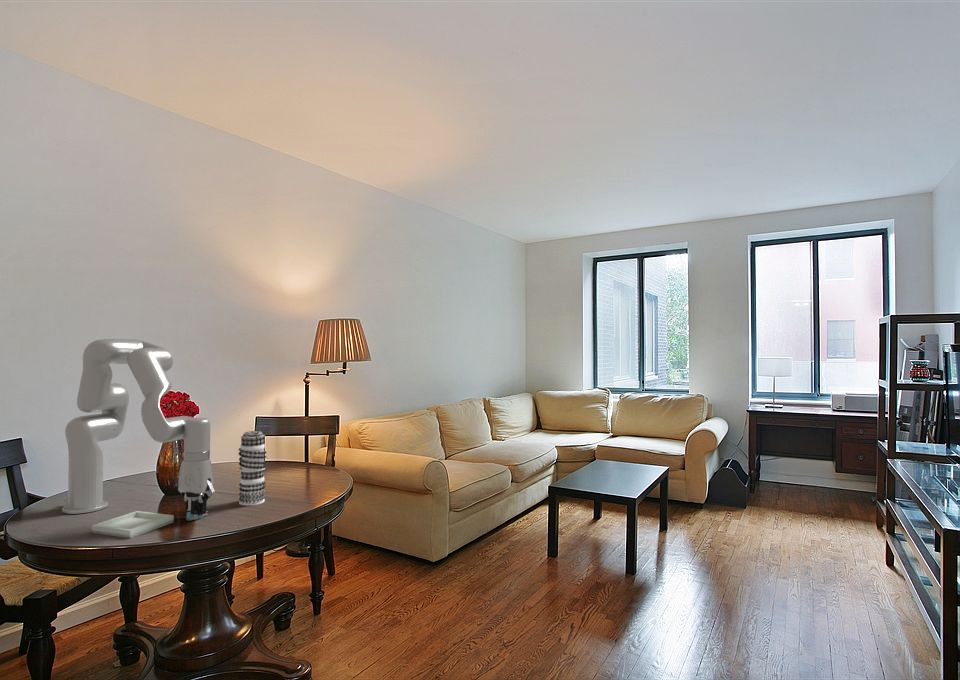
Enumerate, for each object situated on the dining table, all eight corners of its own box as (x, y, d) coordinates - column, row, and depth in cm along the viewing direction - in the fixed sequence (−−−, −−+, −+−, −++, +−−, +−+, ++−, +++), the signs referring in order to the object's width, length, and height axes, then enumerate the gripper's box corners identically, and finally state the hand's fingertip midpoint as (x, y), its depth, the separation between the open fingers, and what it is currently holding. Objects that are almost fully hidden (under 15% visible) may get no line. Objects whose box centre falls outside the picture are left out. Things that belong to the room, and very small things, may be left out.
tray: (91, 532, 161) (91, 525, 161) (136, 517, 175) (137, 510, 175) (130, 538, 156) (130, 530, 156) (173, 522, 171) (173, 515, 171)
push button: (204, 514, 179) (205, 483, 179) (210, 518, 175) (210, 487, 175) (182, 518, 174) (183, 487, 174) (187, 522, 171) (188, 490, 171)
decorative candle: (233, 502, 193) (234, 431, 194) (259, 497, 200) (260, 429, 200) (243, 507, 187) (244, 434, 187) (270, 502, 193) (271, 432, 194)
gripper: (166, 457, 174) (165, 514, 174) (208, 460, 169) (208, 519, 169) (185, 452, 181) (184, 507, 181) (226, 456, 176) (225, 512, 176)
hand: (196, 512), depth 175 cm, fingers closed on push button, 3 cm apart
